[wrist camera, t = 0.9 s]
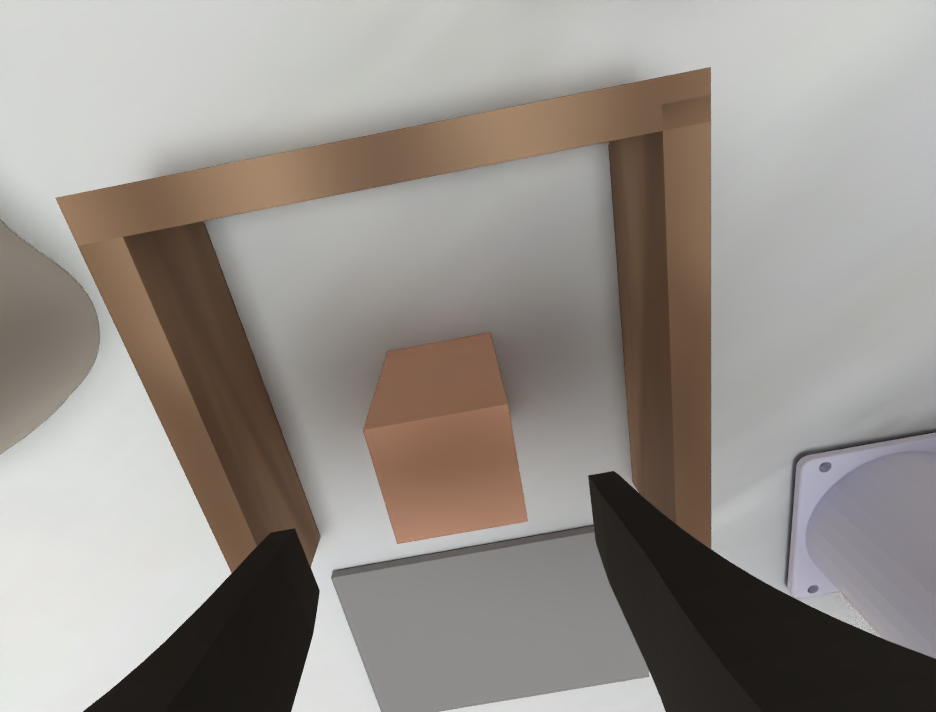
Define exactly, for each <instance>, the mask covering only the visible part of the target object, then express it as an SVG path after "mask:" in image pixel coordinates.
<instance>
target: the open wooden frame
mask: <svg viewBox="0 0 936 712" xmlns="http://www.w3.org/2000/svg"><path fill="white" fill-rule="evenodd" d="M604 142H609V156H610V170H611V184H612V198H613V212H614V226H615V240H616V254H617V268H618V282H619V296H620V310H621V324H622V338H623V352H624V366H625V380H626V394H627V408H628V422H629V436H630V450H631V464H632V478H633V483H634V485H635V487H636V488H637V490H638V492H639V494H641V495H642V496H643V497H644V498H645V499H646V500H648V501H649V502H650V503H651V504H652V505H653V506H655V507H656V508H657V509H658V510H659V511H661V512H662V513H663V514H664V515H666V516H667V517H668V518H669V519H671V520H672V521H673V522H674V523H676V524H677V525H678V526H680V527H681V528H682V529H683V530H685V531H686V532H687V533H689V534H690V535H691V536H693V537H694V538H696V539H697V540H698V541H700V542H701V543H703V544H704V545H705V546H707V547H708V548H710V549H711V67H709V68H704V69H699V70H694V71H689V72H684V73H679V74H674V75H669V76H664V77H659V78H654V79H649V80H644V81H639V82H634V83H629V84H624V85H619V86H614V87H609V88H604V89H599V90H594V91H589V92H584V93H579V94H574V95H569V96H564V97H559V98H554V99H549V100H544V101H539V102H534V103H529V104H524V105H519V106H514V107H509V108H504V109H499V110H494V111H489V112H484V113H479V114H474V115H469V116H464V117H459V118H454V119H449V120H444V121H439V122H434V123H428V124H423V125H418V126H413V127H408V128H403V129H398V130H393V131H388V132H383V133H378V134H373V135H368V136H363V137H358V138H353V139H348V140H343V141H338V142H333V143H328V144H323V145H318V146H313V147H308V148H303V149H298V150H293V151H288V152H283V153H278V154H273V155H268V156H263V157H258V158H253V159H248V160H243V161H238V162H233V163H228V164H223V165H218V166H213V167H208V168H203V169H198V170H193V171H188V172H183V173H178V174H173V175H168V176H163V177H158V178H153V179H148V180H143V181H138V182H133V183H128V184H123V185H118V186H113V187H108V188H103V189H98V190H93V191H88V192H83V193H78V194H73V195H68V196H63V197H58V198H56V200H57V202H58V205H59V207H60V209H61V211H62V213H63V215H64V217H65V219H66V222H67V224H68V226H69V228H70V230H71V232H72V234H73V237H74V239H75V241H76V243H77V245H78V247H79V249H80V251H81V254H82V256H83V258H84V260H85V262H86V264H87V266H88V268H89V271H90V273H91V275H92V277H93V279H94V281H95V283H96V285H97V288H98V290H99V292H100V294H101V296H102V298H103V300H104V302H105V305H106V307H107V309H108V311H109V313H110V315H111V317H112V319H113V322H114V324H115V326H116V328H117V330H118V332H119V334H120V336H121V339H122V341H123V343H124V345H125V347H126V349H127V351H128V353H129V356H130V358H131V360H132V362H133V364H134V366H135V368H136V370H137V373H138V375H139V377H140V379H141V381H142V383H143V385H144V387H145V390H146V392H147V394H148V396H149V398H150V400H151V402H152V404H153V407H154V409H155V411H156V413H157V415H158V417H159V419H160V421H161V424H162V426H163V428H164V430H165V432H166V434H167V436H168V438H169V441H170V443H171V445H172V447H173V449H174V451H175V453H176V455H177V458H178V460H179V462H180V464H181V466H182V468H183V470H184V472H185V475H186V477H187V479H188V481H189V483H190V485H191V487H192V489H193V492H194V494H195V496H196V498H197V500H198V502H199V504H200V506H201V509H202V511H203V513H204V515H205V517H206V519H207V521H208V523H209V526H210V528H211V530H212V532H213V534H214V536H215V538H216V540H217V543H218V545H219V547H220V549H221V551H222V553H223V555H224V557H225V560H226V562H227V564H228V566H229V568H230V570H231V572H232V573H233V572H234V571H235V569H236V568H237V567H238V566H239V565H240V564H241V563H242V562H243V561H244V560H245V559H246V558H247V556H248V555H249V554H250V553H251V552H252V551H253V550H254V549H255V548H256V547H257V546H258V545H259V544H260V543H261V542H262V541H263V540H264V539H265V538H266V537H267V536H268V535H269V534H270V533H271V532H277V531H282V530H288V529H293V528H295V529H296V532H297V535H298V537H299V540H300V542H301V545H302V547H303V550H304V552H305V555H306V557H307V560H308V563H309V565H310V567H311V564H312V561H313V558H314V555H315V552H316V549H317V546H318V543H319V540H320V535H319V532H318V529H317V527H316V524H315V521H314V519H313V516H312V513H311V511H310V508H309V505H308V502H307V500H306V497H305V494H304V492H303V489H302V486H301V484H300V481H299V478H298V475H297V473H296V470H295V467H294V465H293V462H292V459H291V457H290V454H289V451H288V448H287V446H286V443H285V440H284V438H283V435H282V432H281V430H280V427H279V424H278V421H277V419H276V416H275V413H274V411H273V408H272V405H271V403H270V400H269V397H268V395H267V392H266V389H265V386H264V384H263V381H262V378H261V376H260V373H259V370H258V368H257V365H256V362H255V359H254V357H253V354H252V351H251V349H250V346H249V343H248V341H247V338H246V335H245V332H244V330H243V327H242V324H241V322H240V319H239V316H238V314H237V311H236V308H235V305H234V303H233V300H232V297H231V295H230V292H229V289H228V287H227V284H226V281H225V279H224V276H223V273H222V270H221V268H220V265H219V262H218V260H217V257H216V254H215V252H214V249H213V246H212V243H211V241H210V238H209V235H208V233H207V230H206V227H205V225H204V222H203V221H206V220H212V219H217V218H222V217H227V216H232V215H237V214H242V213H247V212H252V211H257V210H262V209H268V208H273V207H278V206H283V205H288V204H293V203H298V202H303V201H308V200H313V199H318V198H324V197H329V196H334V195H339V194H344V193H349V192H354V191H359V190H364V189H369V188H374V187H380V186H385V185H390V184H395V183H400V182H405V181H410V180H415V179H420V178H425V177H430V176H436V175H441V174H446V173H451V172H456V171H461V170H466V169H471V168H476V167H481V166H486V165H492V164H497V163H502V162H507V161H512V160H517V159H522V158H527V157H532V156H537V155H542V154H548V153H553V152H558V151H563V150H568V149H573V148H578V147H583V146H588V145H593V144H598V143H604Z"/></svg>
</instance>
